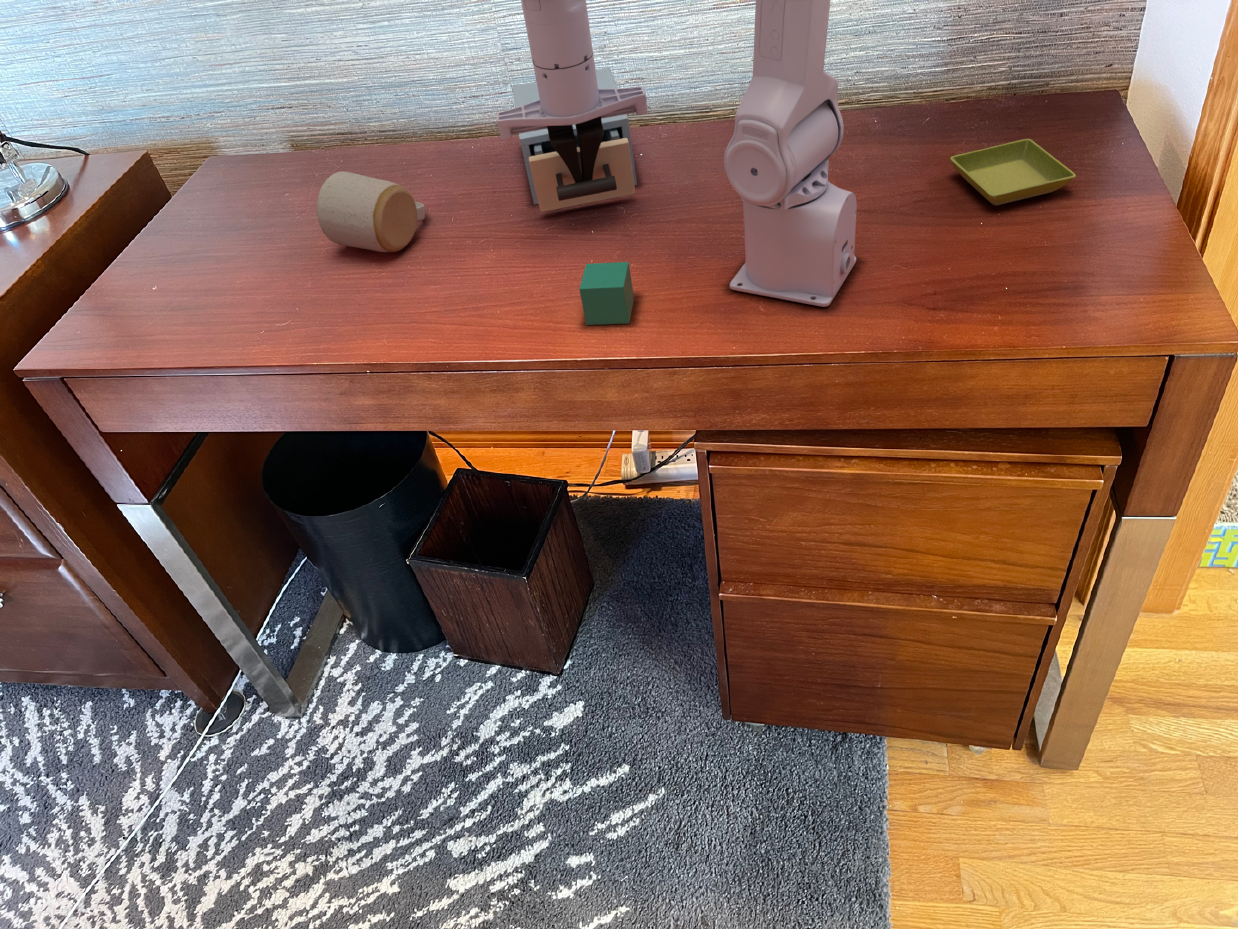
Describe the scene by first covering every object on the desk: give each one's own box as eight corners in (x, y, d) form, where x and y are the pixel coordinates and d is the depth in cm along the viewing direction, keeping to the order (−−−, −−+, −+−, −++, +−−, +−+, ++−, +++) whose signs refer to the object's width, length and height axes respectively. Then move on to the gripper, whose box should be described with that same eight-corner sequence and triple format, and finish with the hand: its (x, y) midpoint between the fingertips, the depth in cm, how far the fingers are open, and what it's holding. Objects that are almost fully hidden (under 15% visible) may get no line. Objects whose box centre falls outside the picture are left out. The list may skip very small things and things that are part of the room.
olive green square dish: (1074, 195, 86) (1078, 175, 85) (988, 215, 86) (991, 195, 84) (1025, 156, 92) (1029, 137, 91) (945, 175, 92) (947, 156, 90)
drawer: (642, 214, 93) (635, 161, 89) (543, 233, 93) (532, 181, 89) (618, 140, 106) (611, 91, 102) (531, 157, 106) (521, 108, 102)
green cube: (634, 298, 84) (628, 261, 81) (629, 323, 81) (623, 286, 78) (592, 299, 85) (585, 263, 82) (586, 325, 82) (578, 288, 79)
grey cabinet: (636, 184, 99) (628, 117, 94) (534, 204, 99) (519, 139, 94) (618, 129, 110) (609, 66, 104) (525, 147, 110) (512, 85, 104)
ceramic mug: (390, 267, 94) (367, 200, 88) (330, 257, 97) (304, 191, 92) (446, 217, 100) (427, 151, 95) (388, 209, 103) (366, 145, 98)
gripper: (633, 27, 86) (647, 160, 96) (484, 54, 86) (513, 184, 96) (644, 55, 81) (658, 191, 91) (487, 83, 81) (517, 217, 91)
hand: (584, 190), depth 93 cm, fingers closed, pressing on drawer
